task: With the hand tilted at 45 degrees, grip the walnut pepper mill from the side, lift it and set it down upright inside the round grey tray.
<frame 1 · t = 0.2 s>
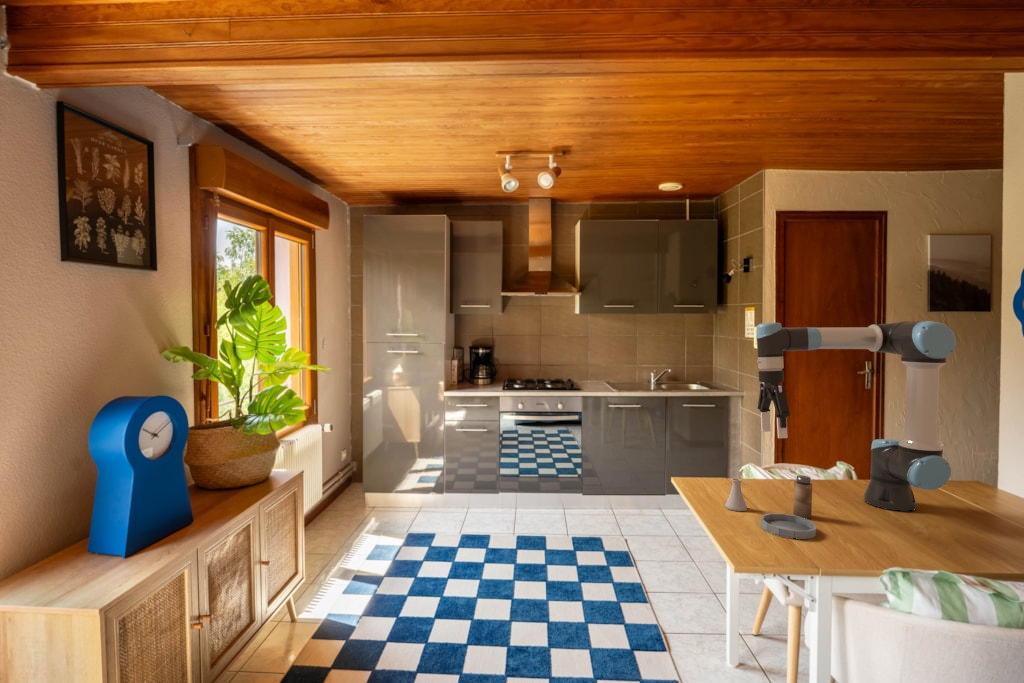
hand: (774, 434, 175), 27 cm above the table, tool pointing down, fingers open, 13 cm apart
pepper mill: (802, 516, 176), on the table
flask: (735, 509, 183), on the table
round grey tray: (787, 529, 164), on the table
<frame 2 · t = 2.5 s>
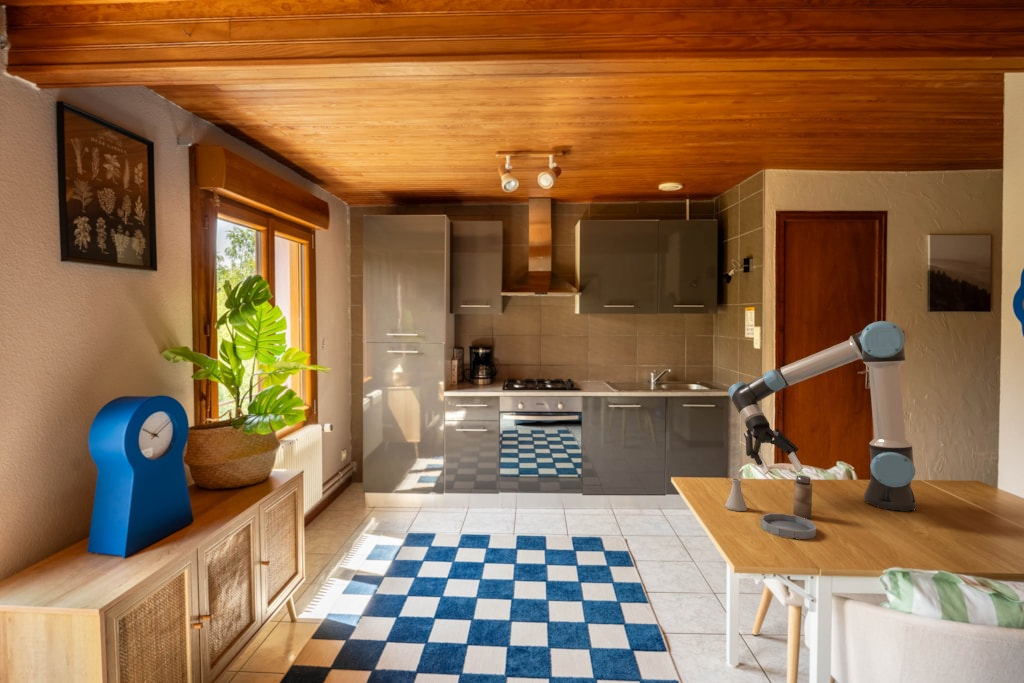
hand: (783, 471, 183), 13 cm above the table, tool tilted 45°, fingers open, 13 cm apart
nothing on the table moved.
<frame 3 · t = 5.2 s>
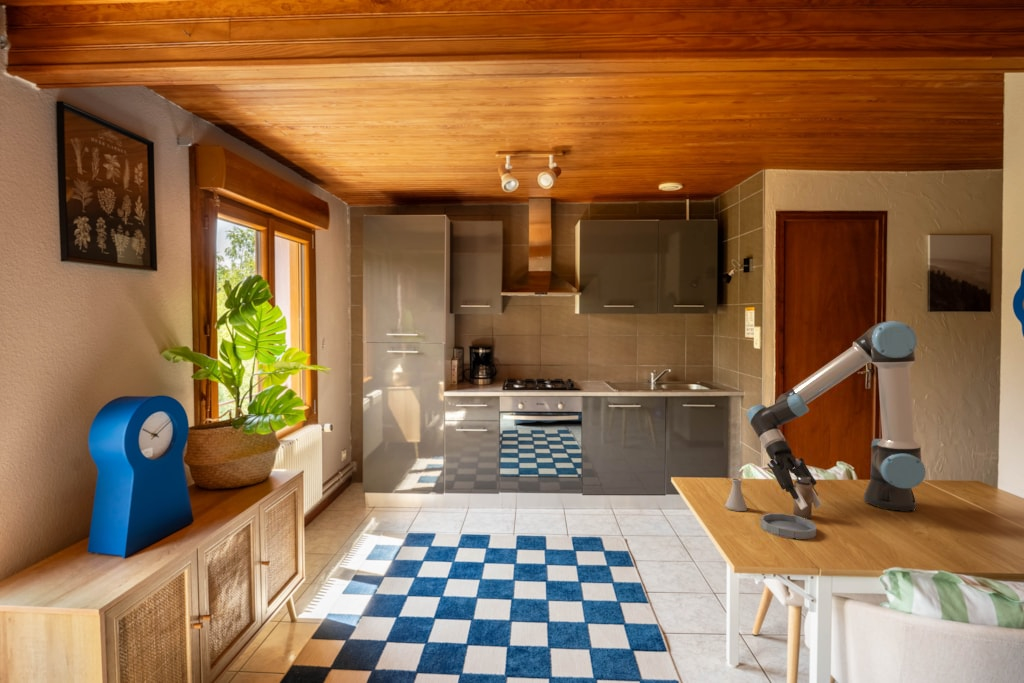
hand: (811, 507, 172), 4 cm above the table, tool tilted 45°, fingers closed on pepper mill, 5 cm apart
pepper mill: (802, 516, 176), on the table, touching gripper
everything else where it was.
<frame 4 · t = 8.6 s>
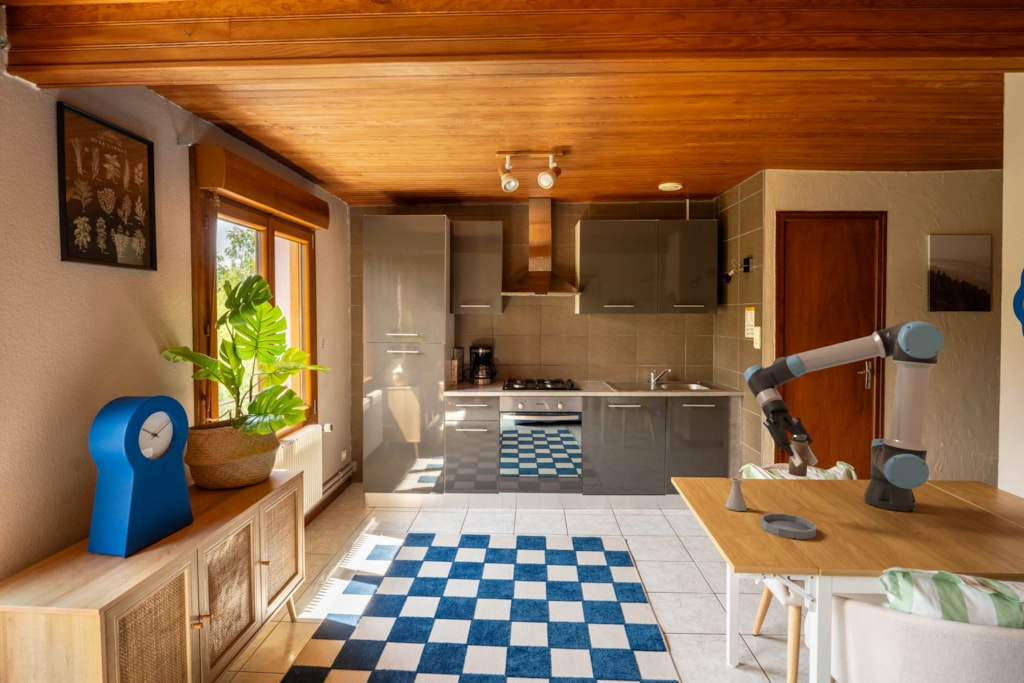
hand: (807, 464, 171), 19 cm above the table, tool tilted 45°, fingers closed on pepper mill, 5 cm apart
pepper mill: (797, 474, 175), point 14 cm above the table, touching gripper
everything else where it was.
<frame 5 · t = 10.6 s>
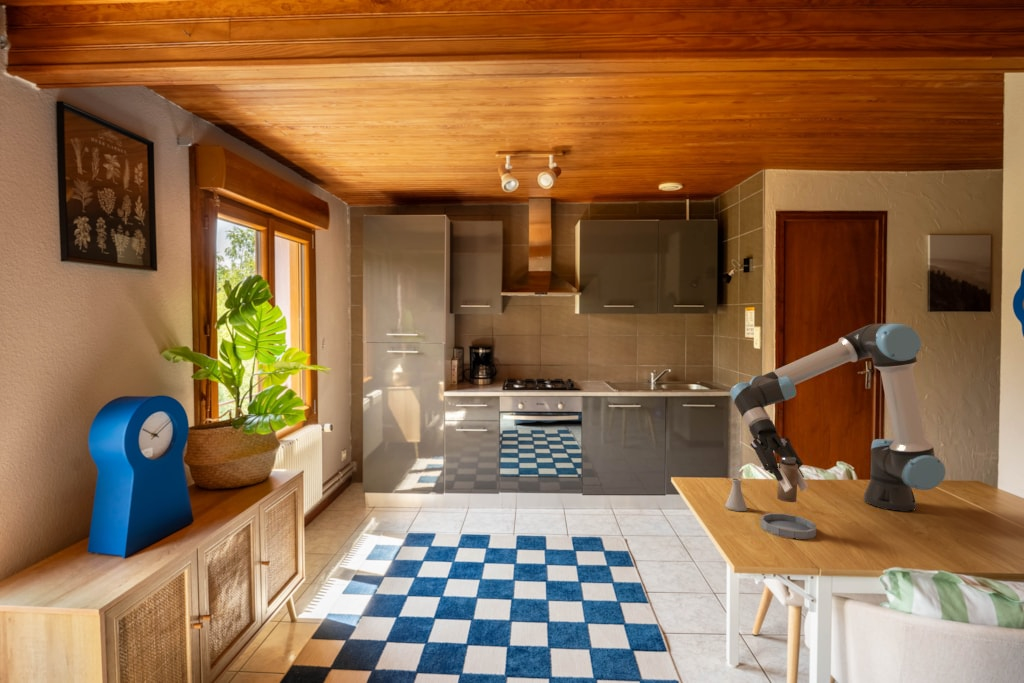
hand: (796, 489, 160), 14 cm above the table, tool tilted 45°, fingers closed on pepper mill, 5 cm apart
pepper mill: (786, 499, 164), point 9 cm above the table, touching gripper
everything else where it was.
when the fingers open (6 cm above the table, at t = 12.1 s): pepper mill drops 1 cm, resting on round grey tray.
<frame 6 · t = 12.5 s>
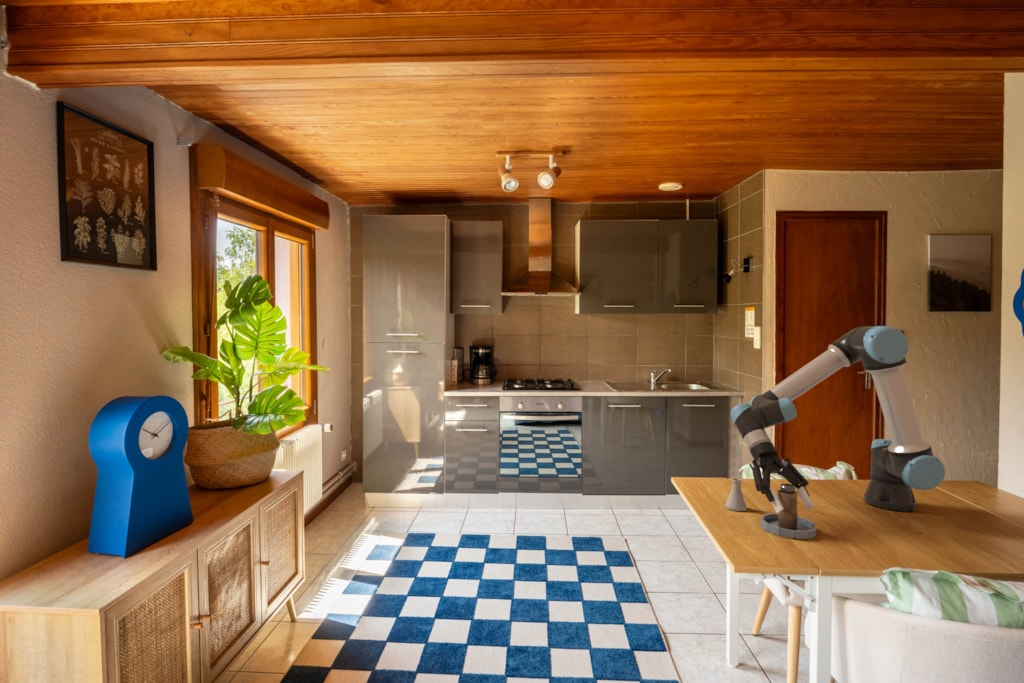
hand: (796, 509, 161), 7 cm above the table, tool tilted 45°, fingers open, 10 cm apart
pepper mill: (787, 527, 164), point 1 cm above the table, touching round grey tray
everything else where it was.
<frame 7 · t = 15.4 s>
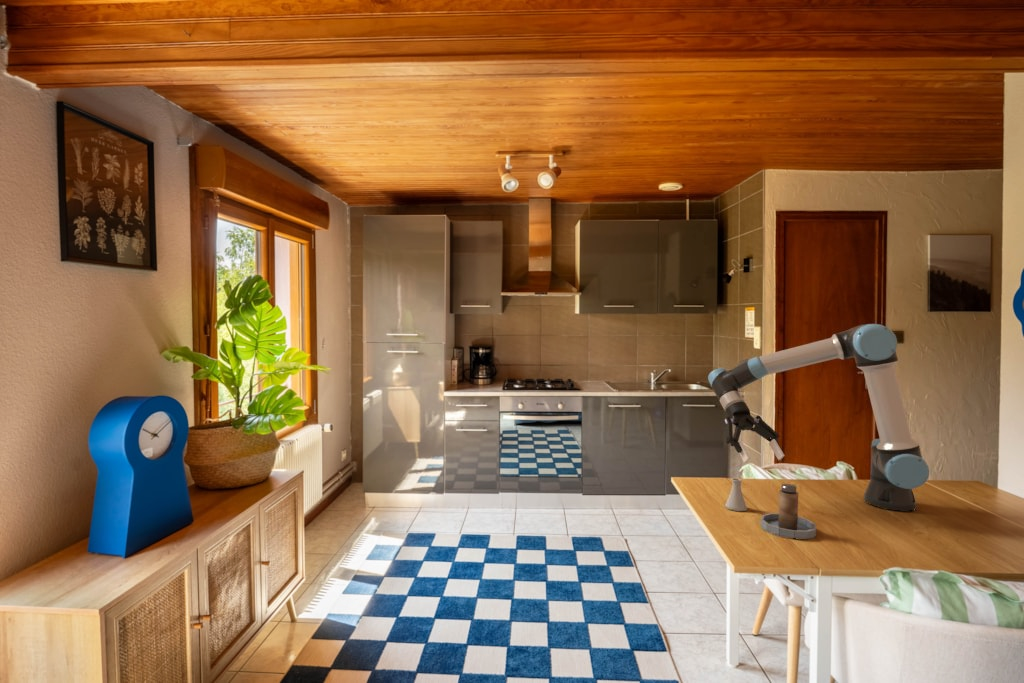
hand: (764, 459, 177), 18 cm above the table, tool tilted 45°, fingers open, 13 cm apart
nothing on the table moved.
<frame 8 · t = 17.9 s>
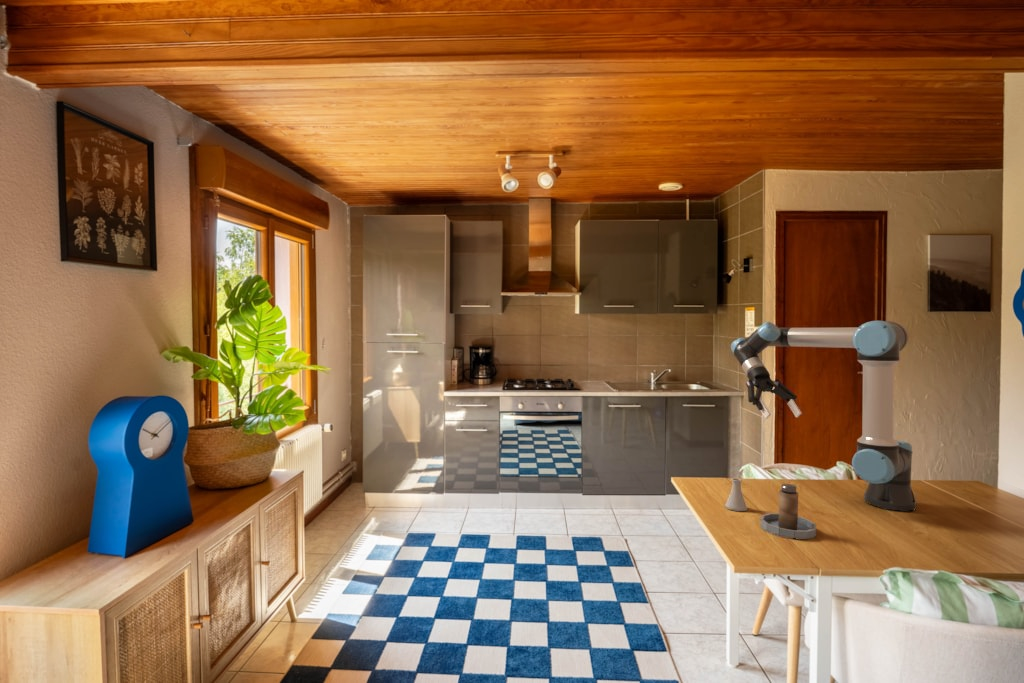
hand: (783, 416, 196), 30 cm above the table, tool tilted 45°, fingers open, 13 cm apart
nothing on the table moved.
at the end: pepper mill inside the target area on the round grey tray (0.1 cm from its centre), point 0.6 cm above the round grey tray's base; pepper mill tilted 0°; the gripper is holding nothing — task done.
